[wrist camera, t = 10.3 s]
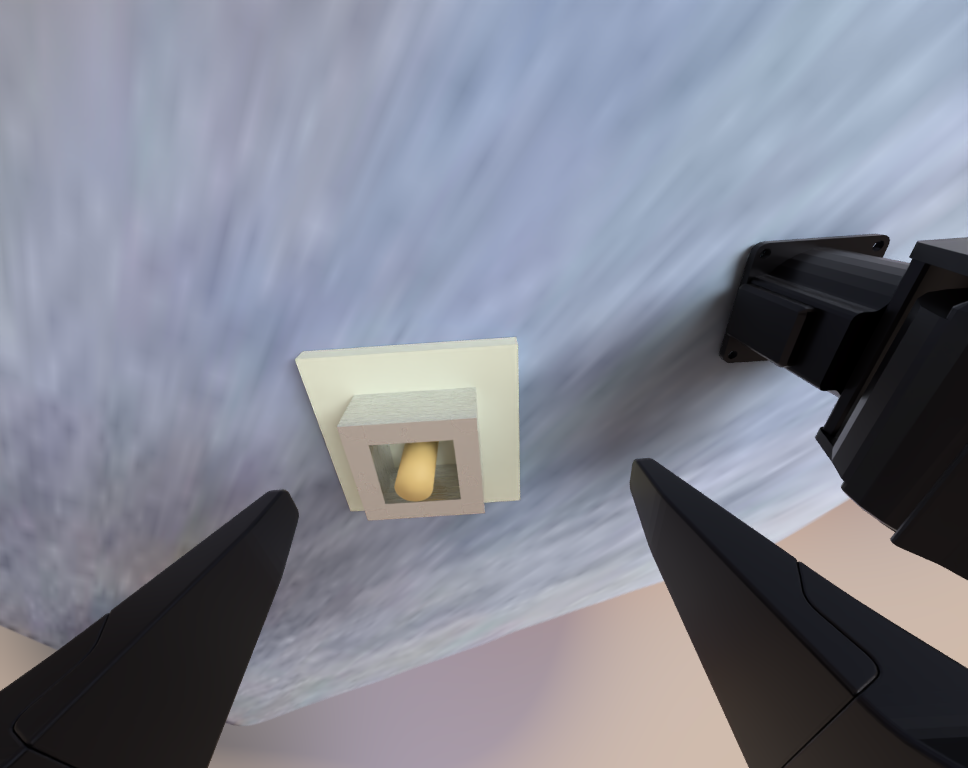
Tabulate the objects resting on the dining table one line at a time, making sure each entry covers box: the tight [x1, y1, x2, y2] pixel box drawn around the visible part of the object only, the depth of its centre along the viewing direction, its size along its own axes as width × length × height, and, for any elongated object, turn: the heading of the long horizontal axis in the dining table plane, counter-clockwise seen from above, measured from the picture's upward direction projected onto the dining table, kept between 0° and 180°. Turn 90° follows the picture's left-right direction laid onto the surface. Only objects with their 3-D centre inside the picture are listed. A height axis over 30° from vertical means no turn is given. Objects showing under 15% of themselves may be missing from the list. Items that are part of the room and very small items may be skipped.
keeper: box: [295, 337, 520, 511], centre depth 21 cm, size 12×12×5 cm
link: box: [337, 387, 485, 521], centre depth 21 cm, size 7×7×3 cm
